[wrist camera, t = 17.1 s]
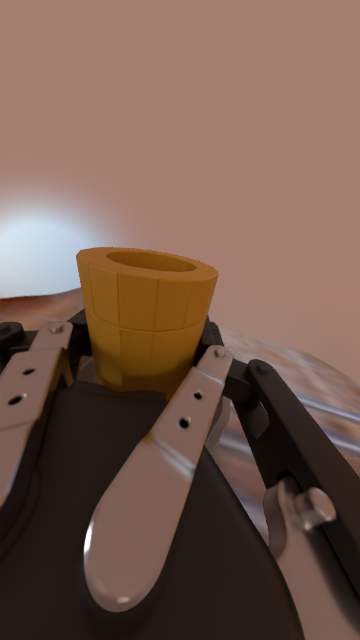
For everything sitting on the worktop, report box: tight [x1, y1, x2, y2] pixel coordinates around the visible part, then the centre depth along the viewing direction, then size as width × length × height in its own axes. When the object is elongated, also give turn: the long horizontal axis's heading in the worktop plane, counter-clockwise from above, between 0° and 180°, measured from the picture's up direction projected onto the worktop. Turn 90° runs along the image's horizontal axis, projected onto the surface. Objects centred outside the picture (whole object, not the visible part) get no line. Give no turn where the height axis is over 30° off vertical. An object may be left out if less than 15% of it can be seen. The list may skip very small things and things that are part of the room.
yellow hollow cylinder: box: [76, 247, 218, 402], centre depth 10 cm, size 6×6×11 cm
